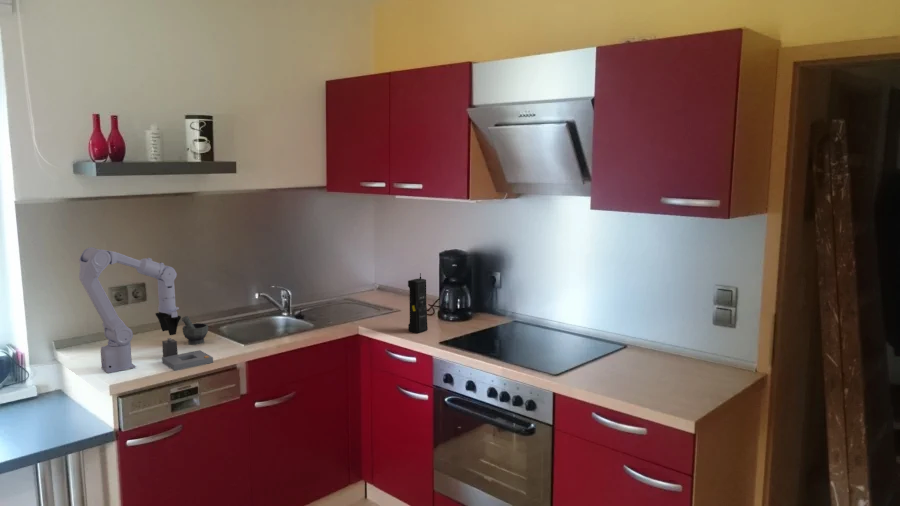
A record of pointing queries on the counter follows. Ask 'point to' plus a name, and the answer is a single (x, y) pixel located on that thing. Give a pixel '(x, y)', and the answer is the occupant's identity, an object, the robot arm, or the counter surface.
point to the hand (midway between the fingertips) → (169, 332)
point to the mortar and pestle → (194, 331)
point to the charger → (169, 347)
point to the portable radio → (417, 305)
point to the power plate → (187, 360)
